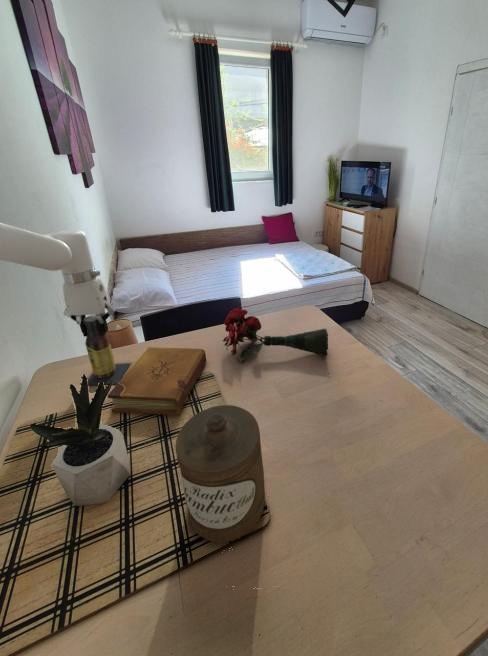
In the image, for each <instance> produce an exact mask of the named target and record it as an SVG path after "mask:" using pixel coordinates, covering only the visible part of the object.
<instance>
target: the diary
mask: <svg viewBox="0 0 488 656" xmlns="http://www.w3.org/2000/svg"><path fill="white" fill-rule="evenodd" d="M206 363H207V355H206V351H205V350H204V349H203V348H191V347H190V348H189V347H188V348H186V347H185V348H184V347H160V346H159V347H156V346H155V347H153V346H148V348H147V349H146V350H145V351H144V352H143V353H142V354H141V356H140V357H138V359H137V360H136V361H135V363H133V365H132V366H131V367H130V368H129V370H128V371H126V372H125V373H124V375H123V377H122V378H121V380H120V381H119V382H118V384H115V386H114V387H113V388H112V389H111V390H110V392H109V393H108V394H107V399H112V402H113V406H112V408H111V413H121V414H122V413H123V414H144V415H145V414H146V415H163V416H164V415H165V416H166V415H167V416H178V415H179V414H180V412H181V411H182V409H183V407H184V405H185V404H186V401H187V399H188V398H189V395H190V394H191V392H192V390H193V389H194V387H195V384H196V382H197V380H198V378H199V376H200V375H201V373H202V370H203V369H204V367H205V365H206Z"/></svg>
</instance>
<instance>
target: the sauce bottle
mask: <svg viewBox="0 0 488 656" xmlns="http://www.w3.org/2000/svg"><path fill="white" fill-rule="evenodd" d="M84 324H85V325H86V328H87V336H86V339H85V342H84V345H85V347H86V352H87V354H88V359H89V362H90V366H91V370H92V373H94V375H95V376H96V377H97V378H105V377H108V376H111V375H112V374H113V373H114V372H115V370H116V367H115V364H116V362H115V357H114V352H113V350H112V349H113V348H112V345H111V341H110V338H109V334H108V333H107V332H106V334H105V335H104V336H101V334H100V331H99V327H98V324H99V321H98V319H97V317H96V315H87V316H86V318H85V319H84Z"/></svg>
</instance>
